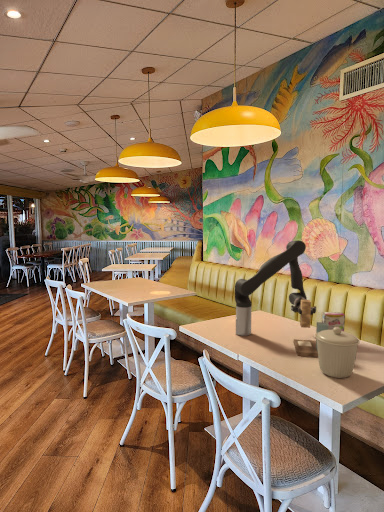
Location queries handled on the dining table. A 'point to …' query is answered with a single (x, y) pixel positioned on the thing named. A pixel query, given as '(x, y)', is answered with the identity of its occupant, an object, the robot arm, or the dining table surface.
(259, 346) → the dining table surface
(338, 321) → the candy bar box
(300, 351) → the frame base
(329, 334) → the canister
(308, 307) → the oak post
